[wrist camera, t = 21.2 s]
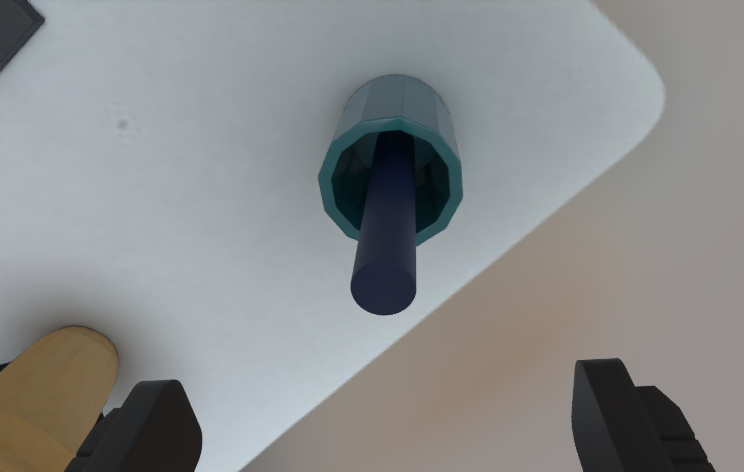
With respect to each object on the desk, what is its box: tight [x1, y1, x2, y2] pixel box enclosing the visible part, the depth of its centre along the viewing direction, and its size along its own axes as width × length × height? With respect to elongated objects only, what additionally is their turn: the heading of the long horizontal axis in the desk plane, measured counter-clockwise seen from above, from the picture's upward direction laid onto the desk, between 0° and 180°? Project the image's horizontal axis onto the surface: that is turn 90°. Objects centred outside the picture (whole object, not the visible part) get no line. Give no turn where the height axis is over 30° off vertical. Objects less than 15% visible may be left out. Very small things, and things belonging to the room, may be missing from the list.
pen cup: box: [318, 75, 463, 246], centre depth 23 cm, size 5×5×7 cm
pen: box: [351, 130, 416, 315], centre depth 20 cm, size 2×2×13 cm
